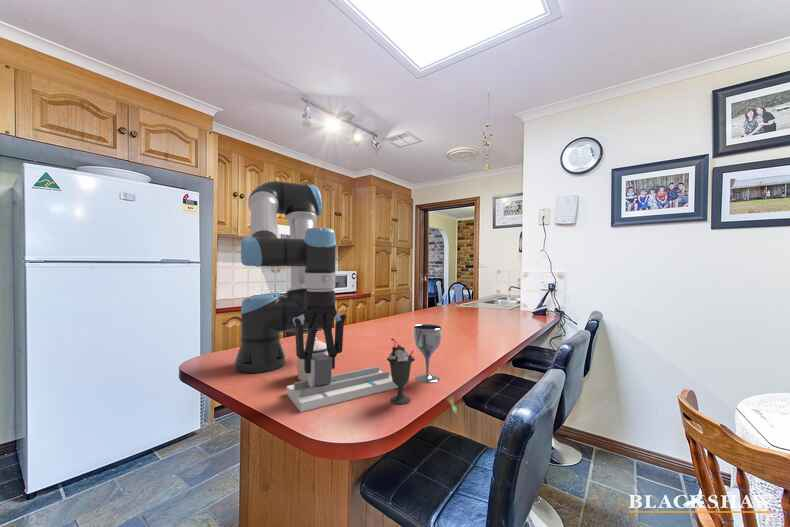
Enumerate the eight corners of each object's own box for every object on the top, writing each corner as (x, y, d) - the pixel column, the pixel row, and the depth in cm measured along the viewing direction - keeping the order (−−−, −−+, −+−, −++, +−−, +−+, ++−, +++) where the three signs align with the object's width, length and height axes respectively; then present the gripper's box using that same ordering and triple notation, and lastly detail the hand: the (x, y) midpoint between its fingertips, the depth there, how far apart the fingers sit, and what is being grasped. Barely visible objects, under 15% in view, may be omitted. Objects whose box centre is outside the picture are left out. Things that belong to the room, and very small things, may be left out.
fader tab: (308, 384, 80) (308, 354, 81) (322, 381, 82) (322, 352, 83) (316, 392, 75) (317, 360, 76) (331, 389, 77) (331, 358, 78)
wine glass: (437, 385, 86) (437, 330, 87) (410, 381, 89) (410, 328, 90) (444, 376, 94) (444, 325, 94) (418, 372, 97) (418, 323, 97)
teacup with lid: (315, 384, 87) (316, 342, 87) (290, 380, 90) (290, 339, 90) (340, 371, 98) (340, 333, 98) (316, 367, 101) (317, 331, 101)
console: (286, 393, 80) (286, 380, 80) (375, 374, 95) (375, 363, 95) (300, 412, 70) (300, 396, 70) (397, 387, 85) (397, 374, 85)
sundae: (381, 399, 77) (381, 337, 77) (402, 392, 81) (402, 334, 81) (397, 408, 72) (397, 342, 72) (419, 401, 76) (419, 338, 76)
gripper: (290, 292, 72) (289, 396, 71) (356, 289, 81) (356, 381, 80) (282, 290, 78) (281, 386, 78) (344, 288, 87) (344, 373, 87)
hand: (319, 383), depth 79 cm, fingers closed on fader tab, 4 cm apart
